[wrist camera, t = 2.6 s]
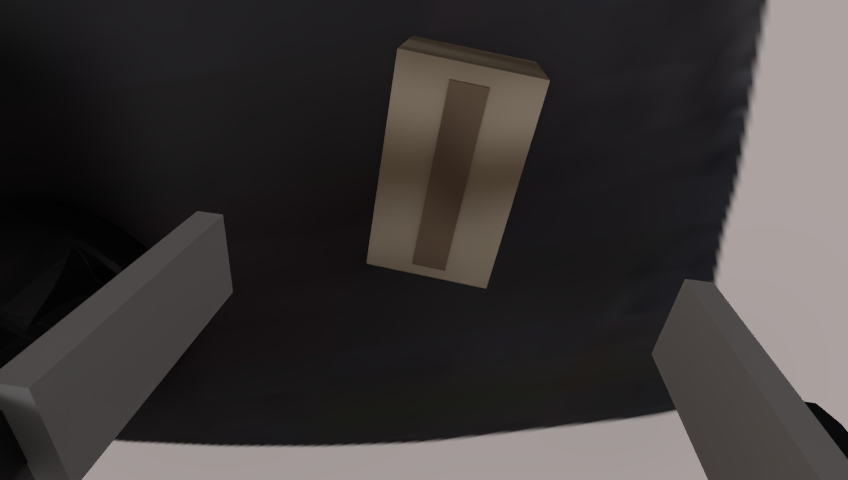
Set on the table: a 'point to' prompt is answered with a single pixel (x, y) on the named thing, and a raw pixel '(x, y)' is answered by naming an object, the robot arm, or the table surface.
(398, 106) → the tan striped block
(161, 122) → the table surface
